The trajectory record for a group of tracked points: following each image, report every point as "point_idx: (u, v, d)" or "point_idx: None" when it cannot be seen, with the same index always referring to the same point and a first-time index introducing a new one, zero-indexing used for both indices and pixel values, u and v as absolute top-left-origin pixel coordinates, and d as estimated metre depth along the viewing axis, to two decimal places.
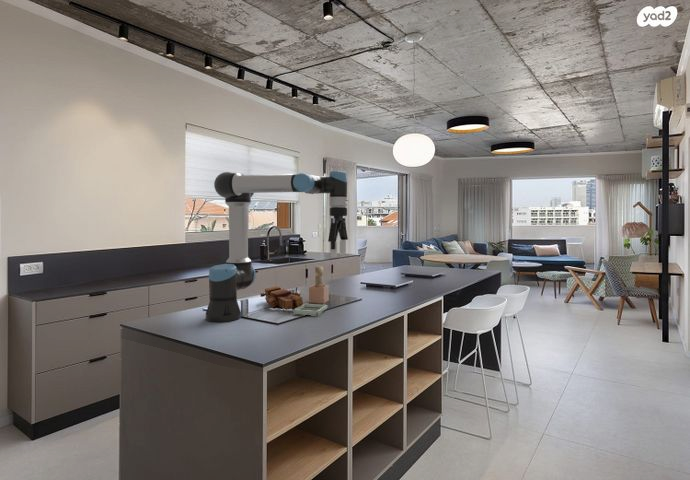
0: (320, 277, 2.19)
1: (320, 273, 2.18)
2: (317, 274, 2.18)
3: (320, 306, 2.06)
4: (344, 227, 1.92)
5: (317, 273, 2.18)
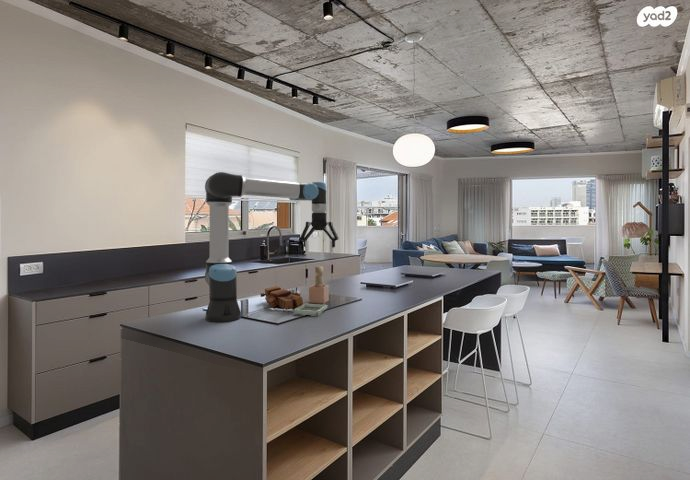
0: (320, 277, 2.19)
1: (320, 273, 2.18)
2: (317, 274, 2.18)
3: (320, 306, 2.06)
4: (331, 230, 2.16)
5: (317, 273, 2.18)
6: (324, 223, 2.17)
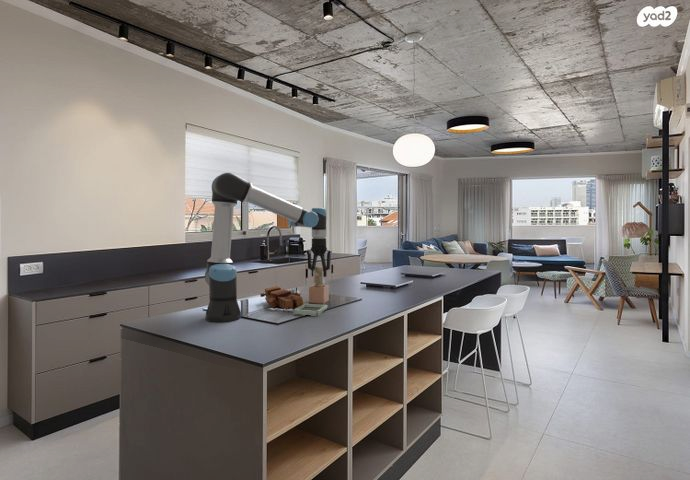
0: (320, 277, 2.19)
1: (320, 273, 2.18)
2: (317, 274, 2.18)
3: (320, 306, 2.06)
4: (327, 258, 2.18)
5: (317, 273, 2.18)
6: (324, 249, 2.17)
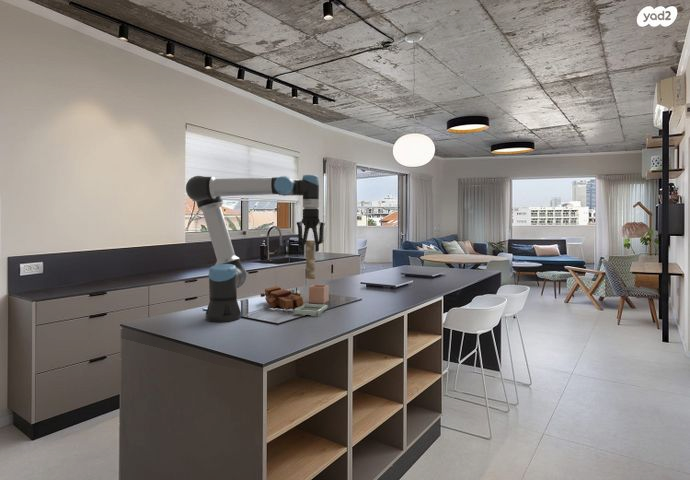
0: (312, 252, 1.98)
1: (311, 247, 1.98)
2: (308, 248, 1.98)
3: (320, 306, 2.06)
4: None
5: (308, 247, 1.98)
6: (316, 221, 1.97)
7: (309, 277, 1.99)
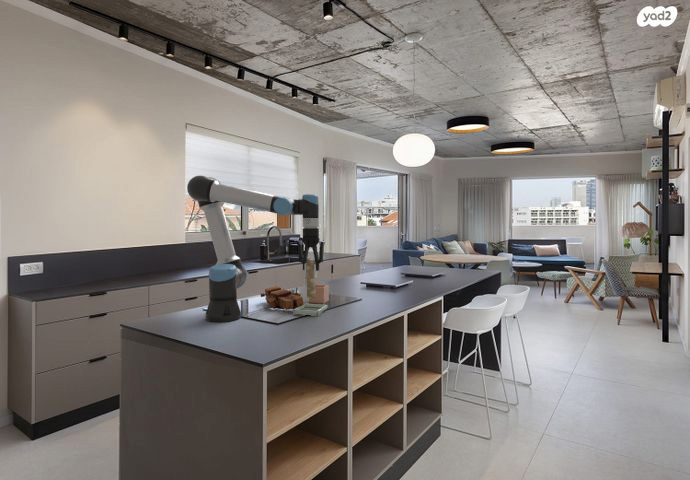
0: (312, 271, 1.98)
1: (312, 266, 1.98)
2: (309, 267, 1.98)
3: (320, 306, 2.06)
4: None
5: (309, 266, 1.98)
6: (316, 240, 1.97)
7: (310, 296, 1.99)
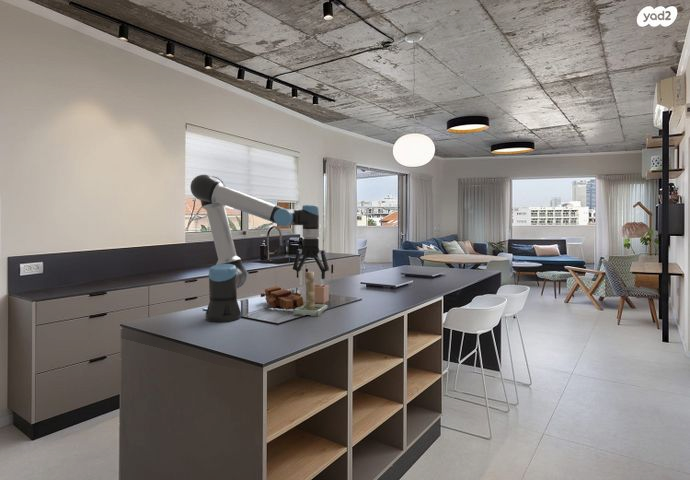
0: (311, 284, 1.99)
1: (311, 279, 1.98)
2: (308, 280, 1.98)
3: (320, 306, 2.06)
4: (322, 259, 1.97)
5: (308, 279, 1.98)
6: (316, 250, 1.97)
7: (309, 309, 1.99)
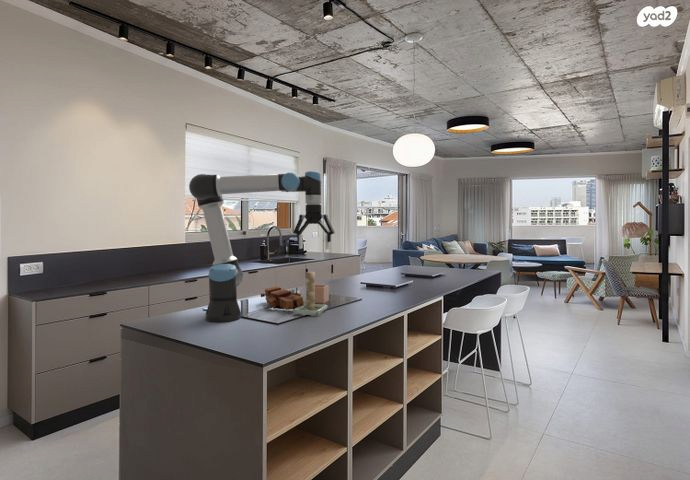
0: (312, 284, 1.99)
1: (311, 279, 1.98)
2: (308, 280, 1.98)
3: (320, 306, 2.06)
4: (326, 223, 2.01)
5: (308, 279, 1.98)
6: (319, 216, 2.01)
7: (309, 309, 1.99)
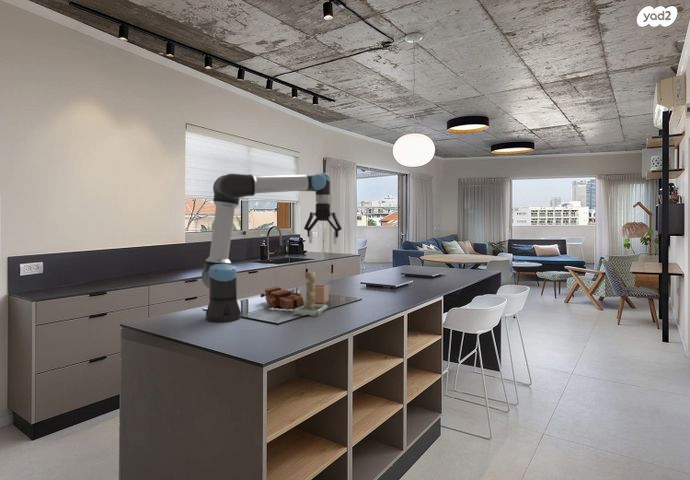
0: (312, 284, 1.99)
1: (311, 280, 1.98)
2: (308, 280, 1.98)
3: (320, 306, 2.06)
4: (334, 220, 2.22)
5: (308, 279, 1.98)
6: (328, 213, 2.22)
7: (309, 309, 1.99)
